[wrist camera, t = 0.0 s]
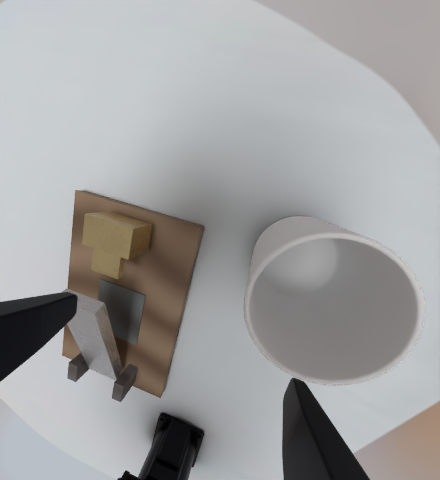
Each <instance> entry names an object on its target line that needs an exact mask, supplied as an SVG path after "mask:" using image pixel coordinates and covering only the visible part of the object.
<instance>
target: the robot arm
mask: <svg viewBox="0 0 440 480" xmlns="http://www.w3.org/2000/svg"><path fill="white" fill-rule="evenodd" d="M77 302H78V297H77V295H76V294H73V293H70V292H62V293H56V294H50V295H43V296H37V297H30V298H24V299H17V300H11V301H5V302H0V382H1V381H2V380H3V379H4V378H5V377H7V376H8V375H9V374H10V373H12V372H13V371H14V370H15V369H16V368H18V367H19V366H20V365H21V364H23V363H24V362H25V361H26V360H28V359H29V358H30V357H31V356H32V355H34V354H35V353H36V352H37V351H38V350H40V349H41V348H42V347H43V346H44V345H45V344H46V343H47V342H48V341H49V340H50V339H51V338H52V337H54V336H55V335H56V334H57V333H58V332H59V331H60V330H61V329H62V328H63V327H64V326H65V325H66V324H67V323H68V322H69V321H70V320H71V319H72V318H73V317H74V316H75V314H76V312H77ZM203 436H204V432H203V431H201V430H199V429H197V428H195V427H192V426H190V425H188V424H186V423H183V422H181V421H179V420H177V419H174V418H172V417H170V416H168V415H165V414H163V413H162V414H160V416H159V418H158V422H157V426H156V430H155V434H154V438H153V443H152V447H151V449H150V451H149V453H148V456H147V458H146V460H145V462H144V465H143V467H142V469H141V471H140V473H139V476H138V477H136V476H134V475H132V474H130V472H128V471H126V470H125V472H124V474H123V476H122V477H121V478H118V480H188V478H189V474H190V470H191V467H194V464H195V461H196V458H197V455H198V452H199V449H200V446H201V443H202V440H203ZM282 457H283V473H284V480H370V479H369V478H368V476H367V474H366V473H365V471H364V470H363V468H362V467H361V465H360V464H359V462H358V461H357V459H356V458H355V457H354V455H353V453H352V452H351V450H350V449H349V447H348V446H347V445H346V443H345V442H344V440H343V439H342V437H341V436H340V434H339V433H338V431H337V430H336V428H335V427H334V425H333V424H332V422H331V421H330V419H329V418H328V416H327V415H326V413H325V412H324V410H323V409H322V407H321V406H320V404H319V403H318V401H317V400H316V398H315V397H314V395H313V394H312V392H311V391H310V389H309V388H308V386H307V385H306V384H305V382H303V381H301V380H299V379H296V378H292V379H291V380H290V383H289V385H288V387H287V390H286V392H285V394H284V399H283V438H282Z"/></svg>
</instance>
